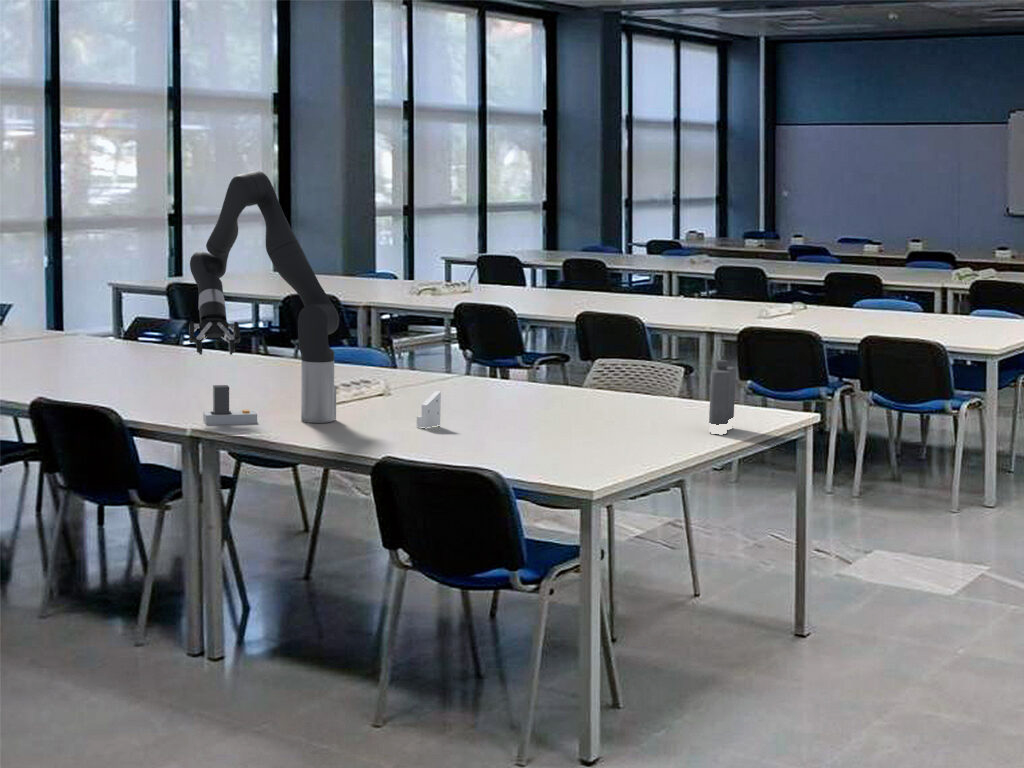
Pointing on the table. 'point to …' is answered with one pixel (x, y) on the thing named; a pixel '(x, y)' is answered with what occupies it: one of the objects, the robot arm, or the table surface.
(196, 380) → the table surface
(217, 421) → the power strip
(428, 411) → the white angled block
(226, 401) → the plug
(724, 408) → the flask
